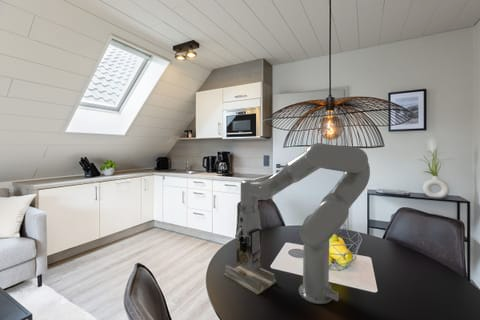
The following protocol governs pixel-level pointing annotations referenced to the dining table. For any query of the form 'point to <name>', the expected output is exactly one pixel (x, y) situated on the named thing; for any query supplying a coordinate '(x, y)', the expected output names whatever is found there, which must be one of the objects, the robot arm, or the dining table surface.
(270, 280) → the rail
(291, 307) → the dining table surface
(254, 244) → the coffee box
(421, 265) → the dining table surface
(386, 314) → the dining table surface
